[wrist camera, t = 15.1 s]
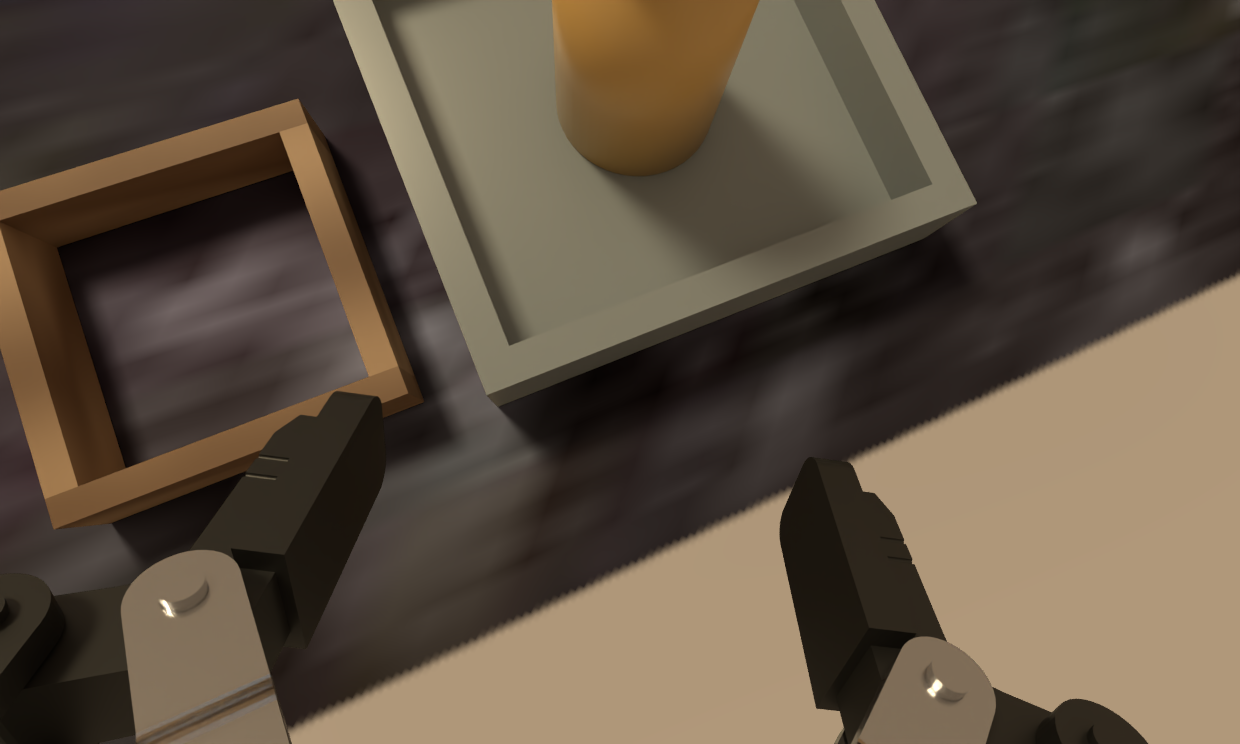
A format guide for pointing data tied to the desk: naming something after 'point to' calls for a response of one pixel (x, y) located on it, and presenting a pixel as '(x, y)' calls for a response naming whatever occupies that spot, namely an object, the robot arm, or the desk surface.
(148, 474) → the holder
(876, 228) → the tray
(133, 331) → the desk surface
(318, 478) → the robot arm
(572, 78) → the pill bottle
